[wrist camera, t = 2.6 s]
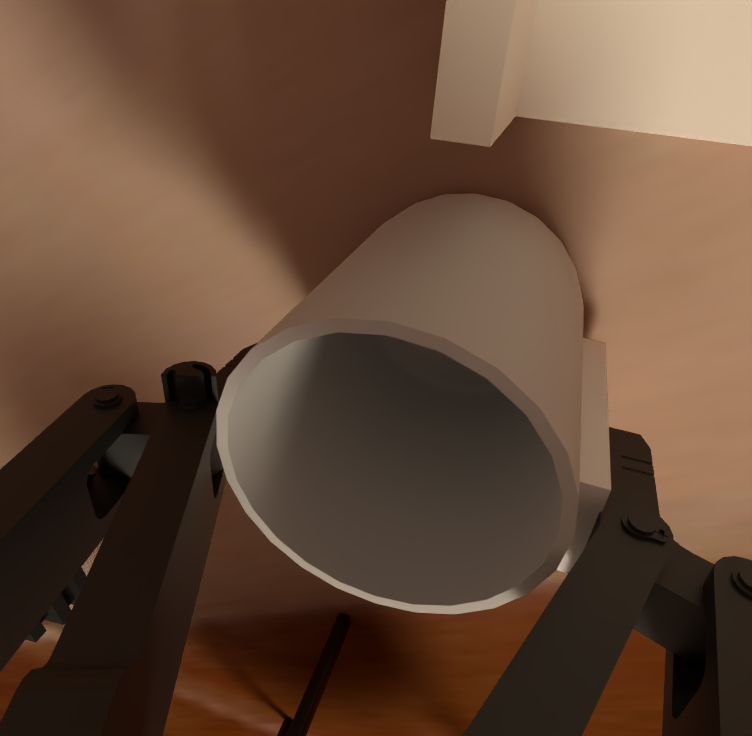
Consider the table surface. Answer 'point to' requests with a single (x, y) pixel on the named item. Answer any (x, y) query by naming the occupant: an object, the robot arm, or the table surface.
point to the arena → (596, 67)
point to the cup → (420, 412)
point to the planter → (317, 681)
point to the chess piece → (60, 606)
